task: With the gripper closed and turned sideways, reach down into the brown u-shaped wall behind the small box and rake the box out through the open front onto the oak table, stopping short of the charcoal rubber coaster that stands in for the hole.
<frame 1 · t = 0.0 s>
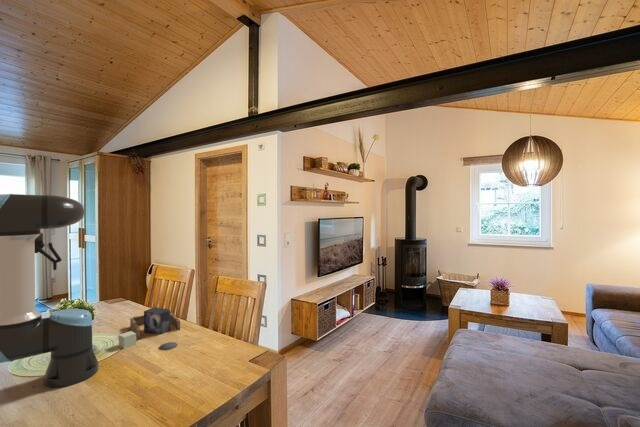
hand: (32, 279, 138), 28 cm above the table, fingers open, 13 cm apart
small box: (157, 331, 149), on the table
sage cube: (127, 345, 134), on the table
brown u-shaped wall: (154, 328, 153), on the table
coaster: (168, 346, 132), on the table
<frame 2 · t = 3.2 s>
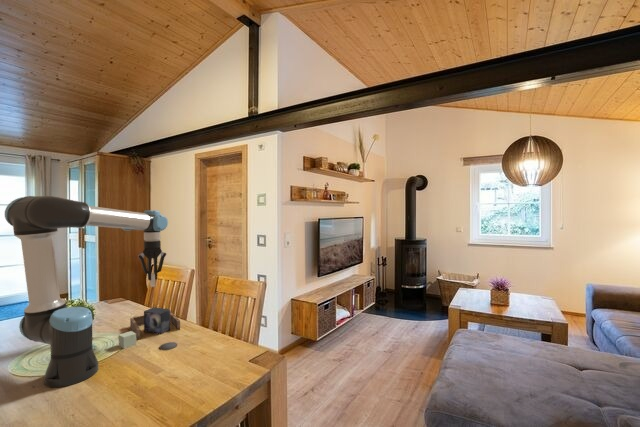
hand: (152, 286, 156), 20 cm above the table, fingers closed
nothing on the table moved.
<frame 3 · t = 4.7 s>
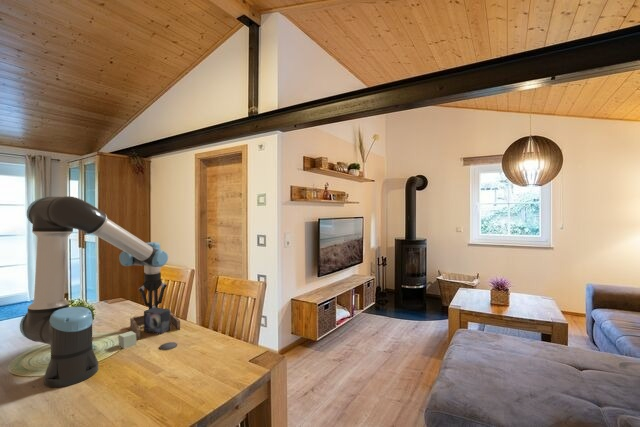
hand: (153, 318, 156), 4 cm above the table, fingers closed
nothing on the table moved.
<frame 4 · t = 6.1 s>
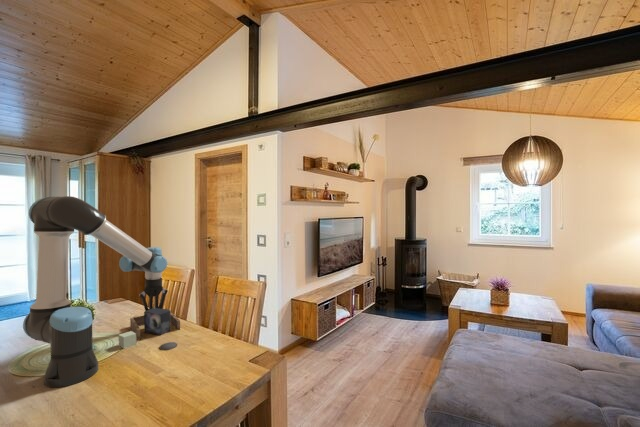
hand: (153, 324, 154), 2 cm above the table, fingers closed
small box: (157, 332, 148), on the table, touching gripper
everything else where it was.
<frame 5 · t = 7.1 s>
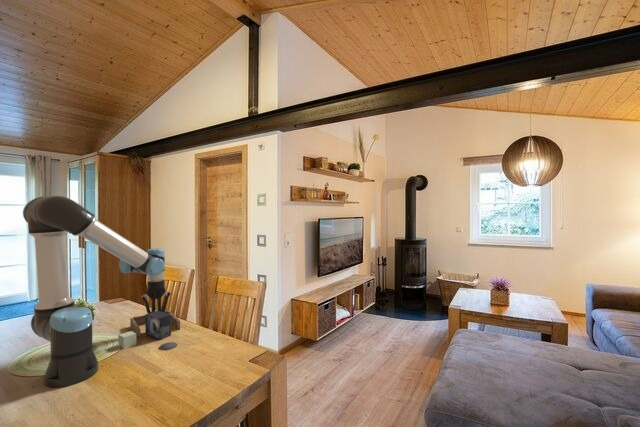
hand: (156, 327, 149), 1 cm above the table, fingers closed
small box: (158, 336, 143), on the table, touching gripper
everything else where it was.
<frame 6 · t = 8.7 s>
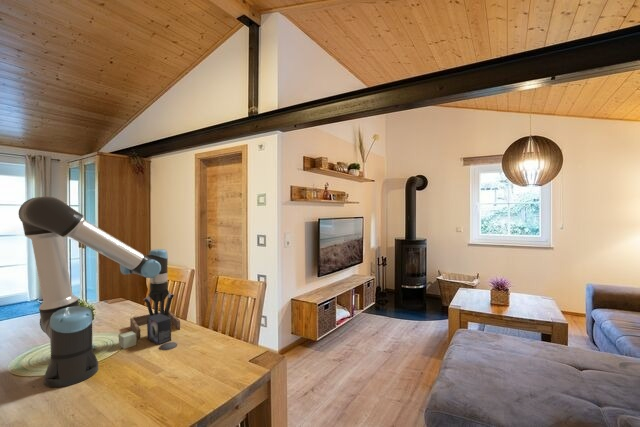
hand: (159, 330, 145), 2 cm above the table, fingers closed
small box: (159, 340, 139), on the table, touching gripper
everything else where it was.
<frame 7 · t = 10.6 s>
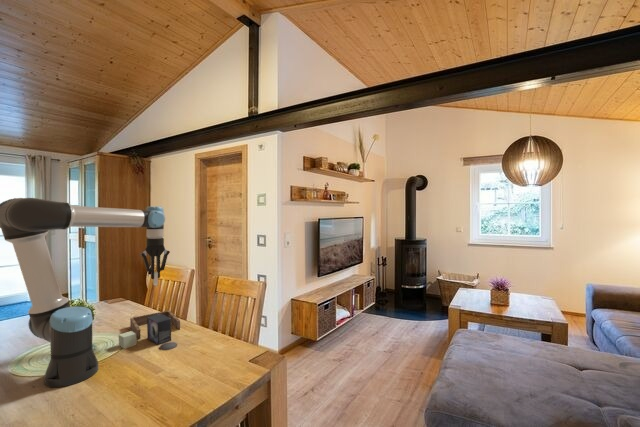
hand: (155, 285, 150), 22 cm above the table, fingers closed
small box: (159, 340, 139), on the table
everything else where it was.
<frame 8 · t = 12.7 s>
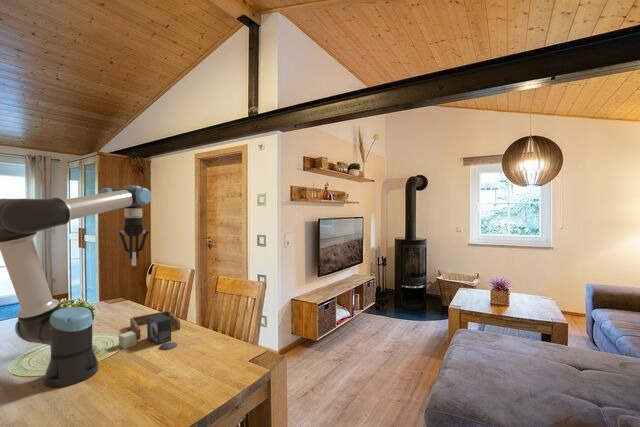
hand: (133, 265, 149), 32 cm above the table, fingers closed
nothing on the table moved.
at the end: small box inside the target area (2.2 cm from its centre), on the table; small box touching table; small box tilted 0° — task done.
